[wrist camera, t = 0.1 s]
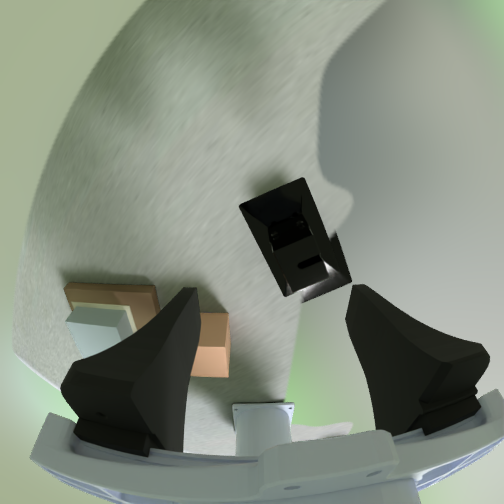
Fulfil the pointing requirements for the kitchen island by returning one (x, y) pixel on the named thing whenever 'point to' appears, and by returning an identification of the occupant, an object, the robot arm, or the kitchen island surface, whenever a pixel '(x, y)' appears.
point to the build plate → (296, 241)
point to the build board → (116, 300)
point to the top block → (213, 346)
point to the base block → (97, 328)
